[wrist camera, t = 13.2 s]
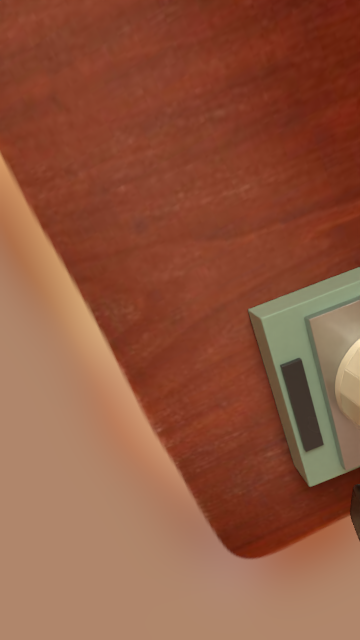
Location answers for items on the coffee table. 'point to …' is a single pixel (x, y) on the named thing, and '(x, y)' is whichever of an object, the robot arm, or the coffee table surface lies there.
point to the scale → (312, 371)
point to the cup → (349, 384)
